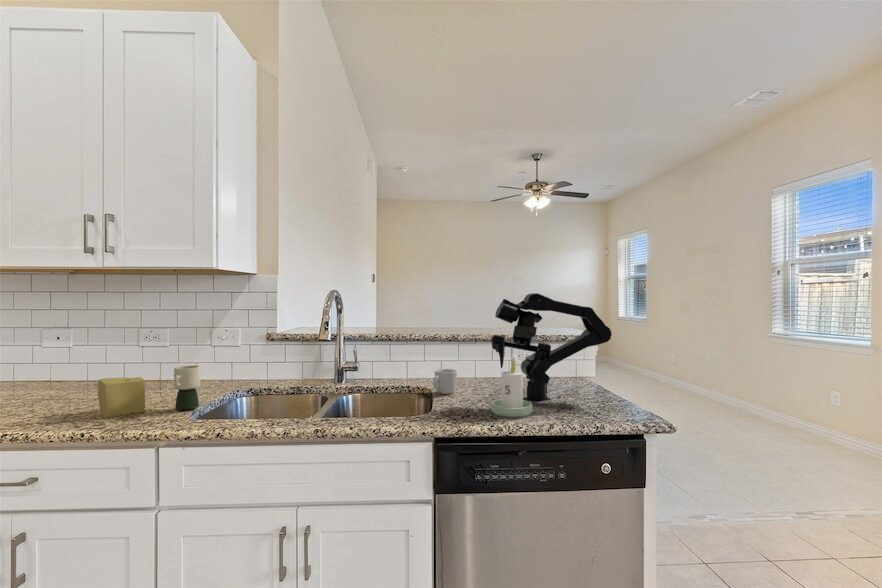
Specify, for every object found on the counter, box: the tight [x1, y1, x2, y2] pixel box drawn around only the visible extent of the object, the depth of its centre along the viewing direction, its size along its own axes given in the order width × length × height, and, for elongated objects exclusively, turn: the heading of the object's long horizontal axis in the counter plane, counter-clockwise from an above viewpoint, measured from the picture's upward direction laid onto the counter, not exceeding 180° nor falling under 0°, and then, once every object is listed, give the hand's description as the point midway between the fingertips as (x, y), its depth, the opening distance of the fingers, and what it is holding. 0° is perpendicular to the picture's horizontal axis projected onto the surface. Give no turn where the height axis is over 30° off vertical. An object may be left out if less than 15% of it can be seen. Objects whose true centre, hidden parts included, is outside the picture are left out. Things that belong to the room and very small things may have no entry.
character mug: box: [173, 364, 201, 411], centre depth 136 cm, size 11×7×13 cm, turn 176°
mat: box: [480, 408, 544, 422], centre depth 132 cm, size 13×13×1 cm
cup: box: [432, 368, 458, 395], centre depth 158 cm, size 11×8×8 cm
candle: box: [501, 357, 524, 408], centre depth 132 cm, size 6×6×15 cm
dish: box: [490, 398, 534, 418], centre depth 132 cm, size 12×12×2 cm
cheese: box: [97, 376, 146, 419], centre depth 133 cm, size 10×11×10 cm
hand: (515, 370), depth 139 cm, fingers open, 9 cm apart
